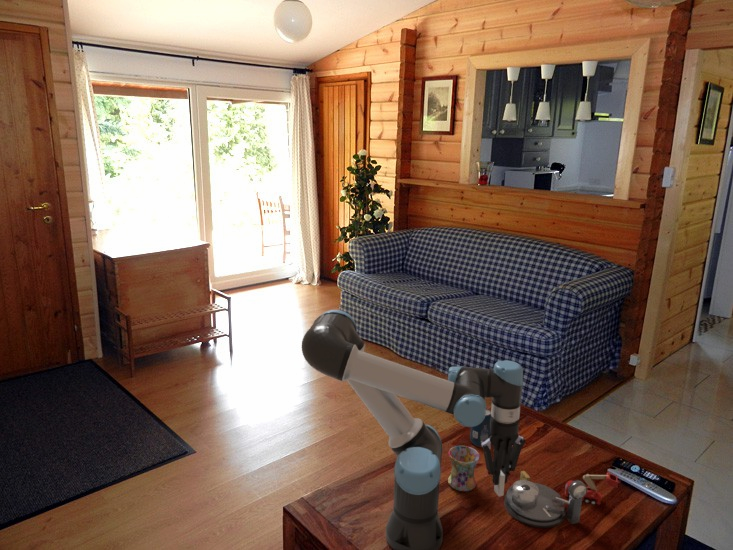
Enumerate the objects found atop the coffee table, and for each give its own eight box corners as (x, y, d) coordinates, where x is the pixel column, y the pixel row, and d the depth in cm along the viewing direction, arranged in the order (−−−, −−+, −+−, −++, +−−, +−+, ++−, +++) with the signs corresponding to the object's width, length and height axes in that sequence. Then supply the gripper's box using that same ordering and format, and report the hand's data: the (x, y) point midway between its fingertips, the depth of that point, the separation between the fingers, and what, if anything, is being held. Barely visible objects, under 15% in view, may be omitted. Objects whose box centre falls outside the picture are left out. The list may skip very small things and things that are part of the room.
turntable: (524, 526, 151) (526, 509, 149) (496, 490, 166) (498, 474, 164) (575, 517, 155) (578, 500, 153) (543, 482, 170) (545, 467, 168)
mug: (481, 492, 167) (484, 461, 164) (452, 495, 165) (454, 464, 162) (467, 469, 178) (470, 439, 175) (440, 471, 176) (442, 441, 174)
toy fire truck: (564, 491, 168) (568, 463, 166) (613, 503, 163) (618, 474, 161) (563, 497, 165) (567, 469, 163) (613, 510, 160) (618, 480, 158)
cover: (519, 511, 155) (521, 497, 154) (507, 495, 161) (508, 481, 160) (541, 507, 156) (543, 493, 155) (528, 491, 163) (530, 478, 162)
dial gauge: (563, 526, 153) (568, 486, 150) (552, 513, 158) (557, 475, 155) (582, 522, 155) (588, 483, 152) (571, 510, 160) (577, 472, 156)
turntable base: (523, 532, 151) (523, 528, 150) (493, 493, 166) (494, 489, 166) (577, 522, 155) (578, 518, 155) (543, 485, 171) (544, 481, 170)
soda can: (477, 434, 198) (480, 404, 195) (494, 442, 193) (497, 411, 190) (465, 441, 193) (468, 410, 190) (482, 450, 188) (484, 418, 185)
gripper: (489, 427, 144) (483, 505, 150) (533, 421, 148) (526, 497, 154) (476, 413, 151) (471, 488, 157) (519, 407, 155) (512, 481, 161)
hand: (498, 493), depth 156 cm, fingers closed
